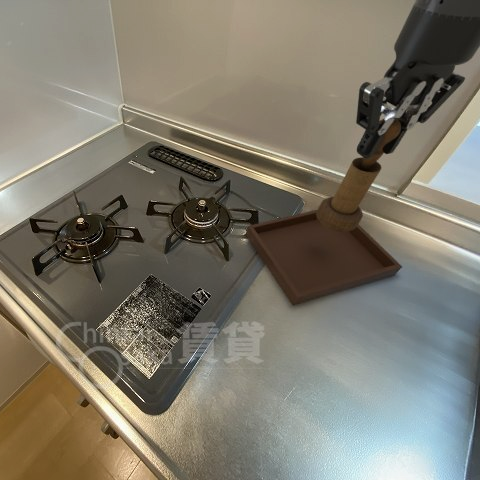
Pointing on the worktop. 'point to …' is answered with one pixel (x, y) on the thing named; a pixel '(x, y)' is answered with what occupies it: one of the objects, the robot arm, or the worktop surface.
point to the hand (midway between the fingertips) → (374, 152)
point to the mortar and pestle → (354, 188)
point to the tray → (318, 256)
